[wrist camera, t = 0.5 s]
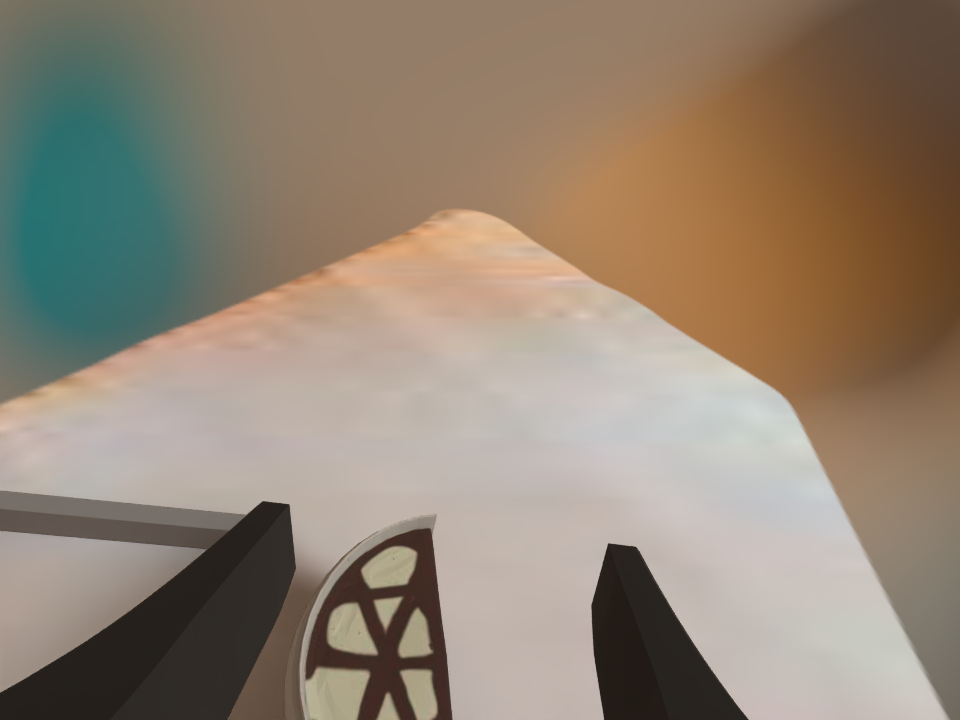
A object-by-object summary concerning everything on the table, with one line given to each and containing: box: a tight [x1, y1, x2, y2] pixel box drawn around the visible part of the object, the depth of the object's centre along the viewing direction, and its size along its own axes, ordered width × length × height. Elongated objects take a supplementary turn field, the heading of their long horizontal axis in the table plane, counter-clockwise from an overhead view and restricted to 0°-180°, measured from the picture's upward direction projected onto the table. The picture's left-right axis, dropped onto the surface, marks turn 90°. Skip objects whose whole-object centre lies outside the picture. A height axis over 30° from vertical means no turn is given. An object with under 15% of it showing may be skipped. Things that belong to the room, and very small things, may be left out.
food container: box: [284, 514, 452, 720], centre depth 24 cm, size 12×6×10 cm, turn 10°
